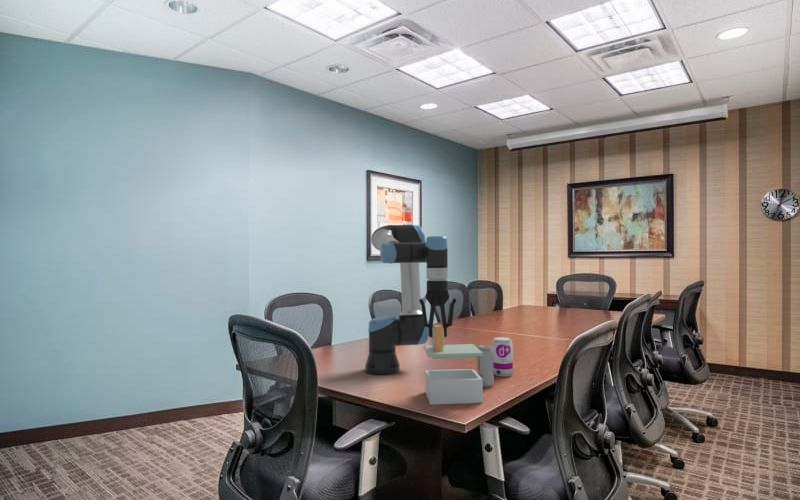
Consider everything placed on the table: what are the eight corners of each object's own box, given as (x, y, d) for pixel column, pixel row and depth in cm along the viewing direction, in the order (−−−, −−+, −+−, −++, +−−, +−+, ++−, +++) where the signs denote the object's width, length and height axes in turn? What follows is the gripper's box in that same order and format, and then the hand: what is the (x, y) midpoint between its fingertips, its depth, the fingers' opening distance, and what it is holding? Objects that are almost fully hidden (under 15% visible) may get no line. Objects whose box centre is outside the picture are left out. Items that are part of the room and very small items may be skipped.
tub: (430, 404, 152) (429, 380, 152) (425, 392, 166) (424, 370, 166) (482, 402, 153) (482, 379, 153) (473, 390, 167) (473, 368, 167)
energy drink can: (476, 383, 176) (475, 345, 177) (491, 383, 177) (490, 344, 177) (479, 388, 170) (479, 348, 171) (495, 387, 171) (495, 347, 171)
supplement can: (513, 377, 184) (512, 340, 185) (492, 376, 186) (492, 340, 186) (512, 372, 192) (511, 337, 193) (492, 371, 194) (492, 336, 194)
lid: (428, 360, 152) (428, 330, 152) (423, 350, 167) (423, 323, 167) (482, 358, 153) (482, 329, 153) (473, 349, 168) (473, 322, 168)
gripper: (416, 280, 156) (417, 349, 156) (461, 280, 157) (461, 348, 157) (414, 279, 163) (414, 344, 163) (457, 278, 164) (457, 343, 164)
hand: (437, 346), depth 160 cm, fingers closed on lid, 2 cm apart
